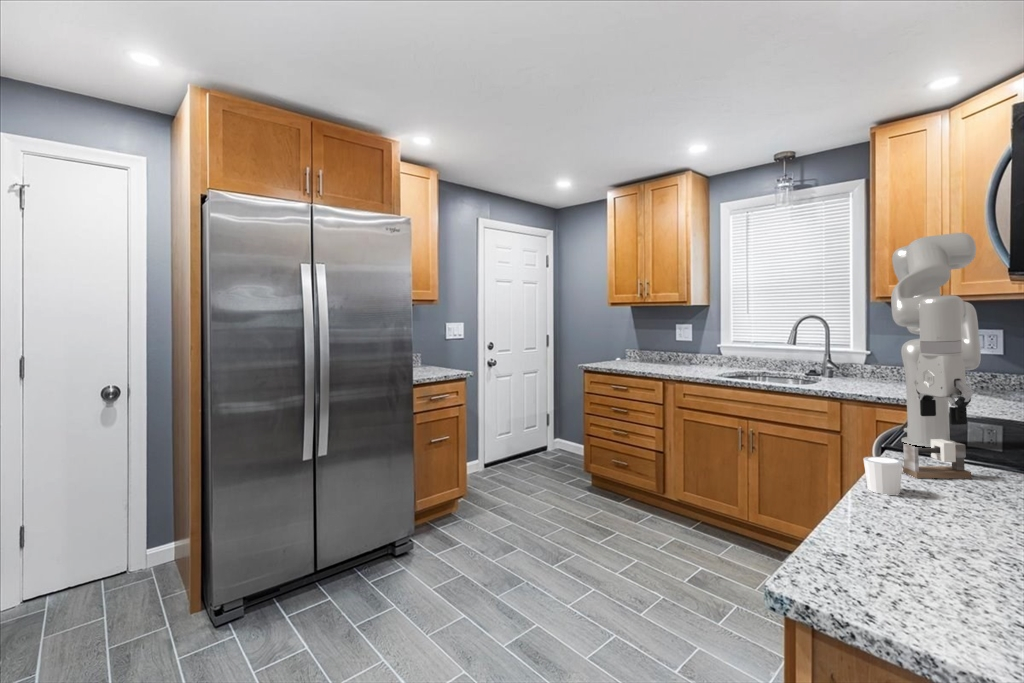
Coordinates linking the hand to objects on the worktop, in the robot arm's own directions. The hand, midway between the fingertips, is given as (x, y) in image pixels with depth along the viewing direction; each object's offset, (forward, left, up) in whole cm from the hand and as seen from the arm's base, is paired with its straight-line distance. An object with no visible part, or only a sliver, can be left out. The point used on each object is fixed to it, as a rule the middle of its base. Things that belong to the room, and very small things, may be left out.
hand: (942, 419), depth 118 cm
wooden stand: (+1, -2, -13) cm, 13 cm away
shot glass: (+13, -20, -13) cm, 27 cm away
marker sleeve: (+1, -1, -9) cm, 9 cm away
